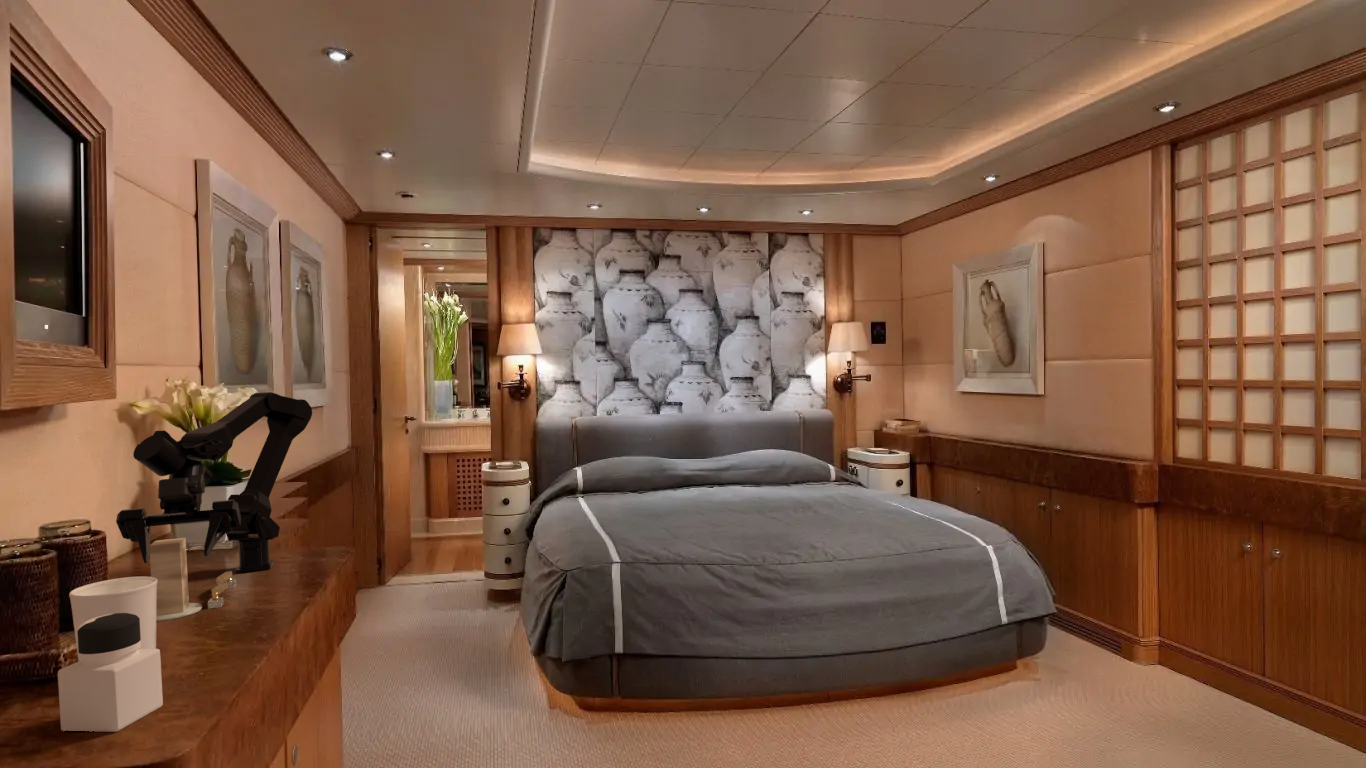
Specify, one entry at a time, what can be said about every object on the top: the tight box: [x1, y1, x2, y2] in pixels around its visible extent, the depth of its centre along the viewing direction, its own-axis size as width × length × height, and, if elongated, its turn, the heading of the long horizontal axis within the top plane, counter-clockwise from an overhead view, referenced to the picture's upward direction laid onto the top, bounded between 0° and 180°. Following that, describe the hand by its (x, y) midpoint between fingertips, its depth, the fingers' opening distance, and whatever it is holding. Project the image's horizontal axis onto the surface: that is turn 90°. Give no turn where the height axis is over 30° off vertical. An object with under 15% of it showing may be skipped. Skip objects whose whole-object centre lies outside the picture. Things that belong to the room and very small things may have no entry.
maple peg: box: [149, 537, 190, 616], centre depth 137 cm, size 4×4×12 cm
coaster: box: [156, 602, 203, 622], centre depth 137 cm, size 9×9×1 cm
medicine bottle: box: [57, 613, 164, 733], centre depth 93 cm, size 7×7×12 cm
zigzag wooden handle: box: [207, 570, 237, 610], centre depth 147 cm, size 16×3×3 cm, turn 21°
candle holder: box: [68, 575, 158, 662], centre depth 109 cm, size 10×10×12 cm
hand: (175, 558), depth 140 cm, fingers open, 9 cm apart
